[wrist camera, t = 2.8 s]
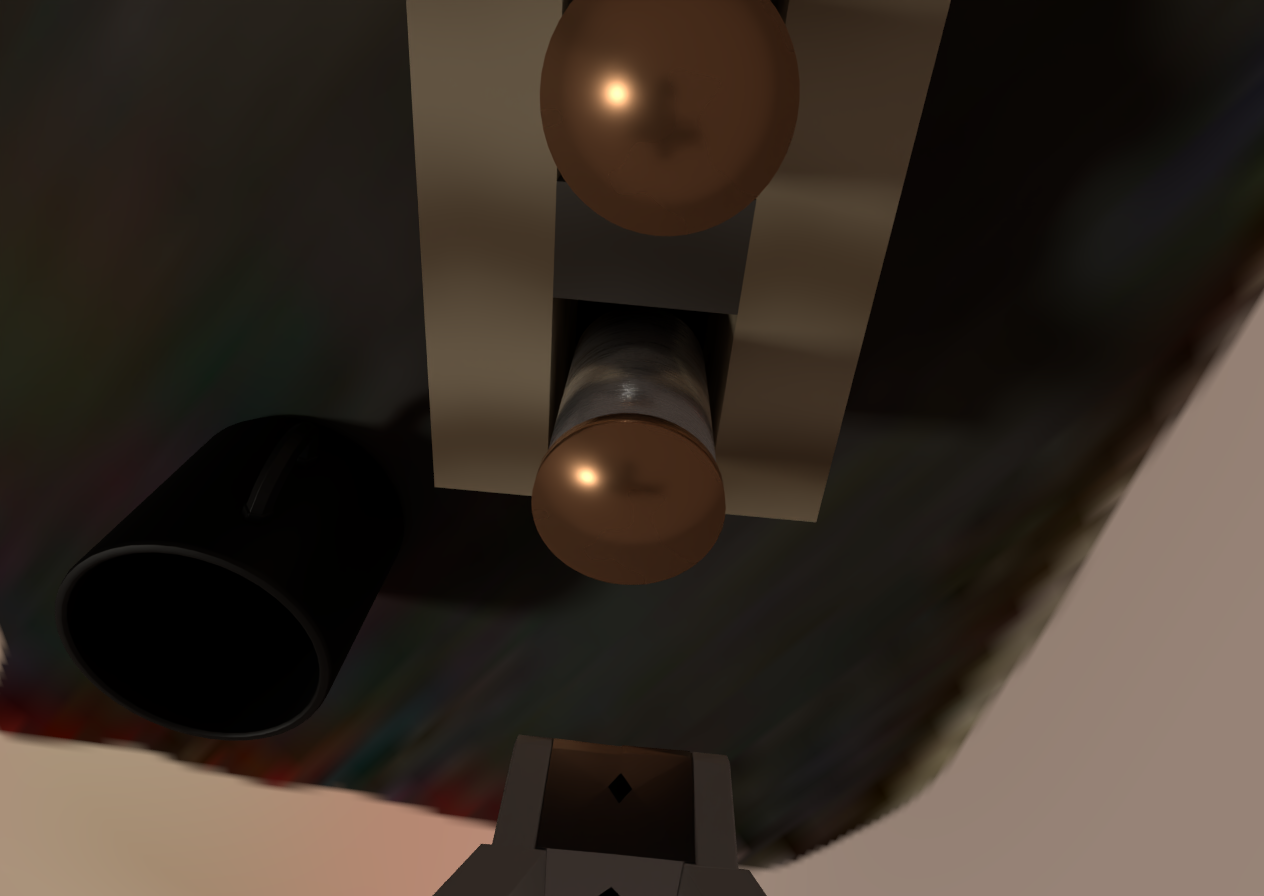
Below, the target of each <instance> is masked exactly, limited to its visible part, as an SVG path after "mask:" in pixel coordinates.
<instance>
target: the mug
mask: <svg viewBox="0 0 1264 896" xmlns="http://www.w3.org/2000/svg"><path fill="white" fill-rule="evenodd" d="M403 532H404V522H403V513H402V508H401V504H400V500H399V497H398V494H397V492H396V490H395V488H394V486H393V484H392V482H391V480H390V479H389V477H388V476H387V474H386V473H385V471H384V470H383V469H382V468H381V467H380V465H379V464H378V463H377V462H376V461H375V460H374V459H373V458H372V457H371V456H370V455H369V454H368V453H367V452H365V451H364V450H363V449H362V448H361V447H360V446H358V445H357V444H355V443H354V442H352V441H351V440H349V439H348V438H346V437H344V436H343V435H341V434H339V433H337V432H335V431H333V430H331V429H329V428H326V427H323V426H320V425H317V424H315V423H311V422H308V421H303V420H298V419H292V418H281V417H272V418H259V419H253V420H248V421H244V422H240V423H237V424H235V425H232V426H229V427H227V428H225V429H224V430H222V431H220V432H219V433H217V434H216V435H215V436H213V437H212V438H211V439H210V440H209V441H208V442H207V443H206V444H205V445H204V446H202V447H201V448H200V449H199V450H198V451H197V452H196V453H195V454H194V455H193V456H192V457H191V458H189V459H188V460H187V461H186V462H185V463H184V464H183V465H182V466H181V467H180V468H179V469H178V470H177V471H175V472H174V473H173V474H172V475H171V476H170V477H169V478H168V479H167V480H166V481H165V482H164V483H162V484H161V485H160V486H159V487H158V488H157V489H156V490H155V491H154V492H153V493H152V494H151V495H150V496H148V497H147V498H146V499H145V500H144V501H143V502H142V503H141V504H140V505H139V506H138V507H137V508H136V509H134V510H133V511H132V512H131V513H130V514H129V515H128V516H127V517H126V518H125V519H124V520H123V521H121V522H120V523H119V524H118V525H117V526H116V527H115V528H114V529H113V530H112V531H111V532H110V533H109V534H107V535H106V536H105V537H104V538H103V539H102V540H101V541H100V542H99V543H98V544H97V545H96V546H94V547H93V548H92V549H91V550H90V551H89V552H88V553H87V554H86V555H85V556H84V557H83V558H82V559H80V560H79V561H78V562H77V563H76V564H75V565H74V566H73V567H72V568H71V569H70V570H69V571H68V573H67V575H66V576H65V578H64V580H63V581H62V583H61V585H60V588H59V591H58V594H57V597H56V601H55V619H56V624H57V629H58V633H59V635H60V638H61V640H62V643H63V645H64V647H65V649H66V651H67V652H68V654H69V655H70V657H71V659H72V660H73V662H74V663H75V664H76V666H77V667H78V668H79V669H80V670H81V672H82V673H83V674H84V675H85V676H86V677H87V678H88V679H89V680H90V681H91V682H92V683H93V684H94V685H95V686H96V687H97V688H98V689H99V690H101V691H102V692H103V693H105V694H106V695H107V696H109V697H110V698H111V699H112V700H114V701H115V702H117V703H118V704H120V705H121V706H123V707H125V708H126V709H128V710H130V711H131V712H133V713H135V714H137V715H139V716H141V717H143V718H145V719H147V720H149V721H151V722H154V723H156V724H159V725H161V726H164V727H166V728H169V729H172V730H175V731H179V732H182V733H186V734H190V735H194V736H199V737H204V738H209V739H219V740H253V739H260V738H266V737H270V736H274V735H278V734H281V733H284V732H286V731H288V730H290V729H293V728H295V727H296V726H298V725H300V724H301V723H303V722H304V721H305V720H307V719H308V718H310V717H311V716H312V714H313V713H314V712H315V711H316V710H317V709H318V708H319V707H320V706H321V704H322V703H323V701H324V699H325V698H326V696H327V694H328V693H329V691H330V689H331V687H332V685H333V682H334V680H335V678H336V676H337V674H338V672H339V670H340V668H341V666H342V664H343V662H344V660H345V658H346V656H347V654H348V652H349V650H350V648H351V646H352V644H353V642H354V640H355V638H356V636H357V634H358V632H359V630H360V628H361V626H362V624H363V622H364V620H365V618H366V616H367V614H368V612H369V610H370V608H371V606H372V604H373V602H374V600H375V598H376V596H377V594H378V592H379V590H380V588H381V586H382V584H383V582H384V580H385V578H386V576H387V574H388V572H389V570H390V568H391V566H392V564H393V562H394V560H395V558H396V556H397V554H398V552H399V549H400V546H401V543H402V539H403Z"/></svg>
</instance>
